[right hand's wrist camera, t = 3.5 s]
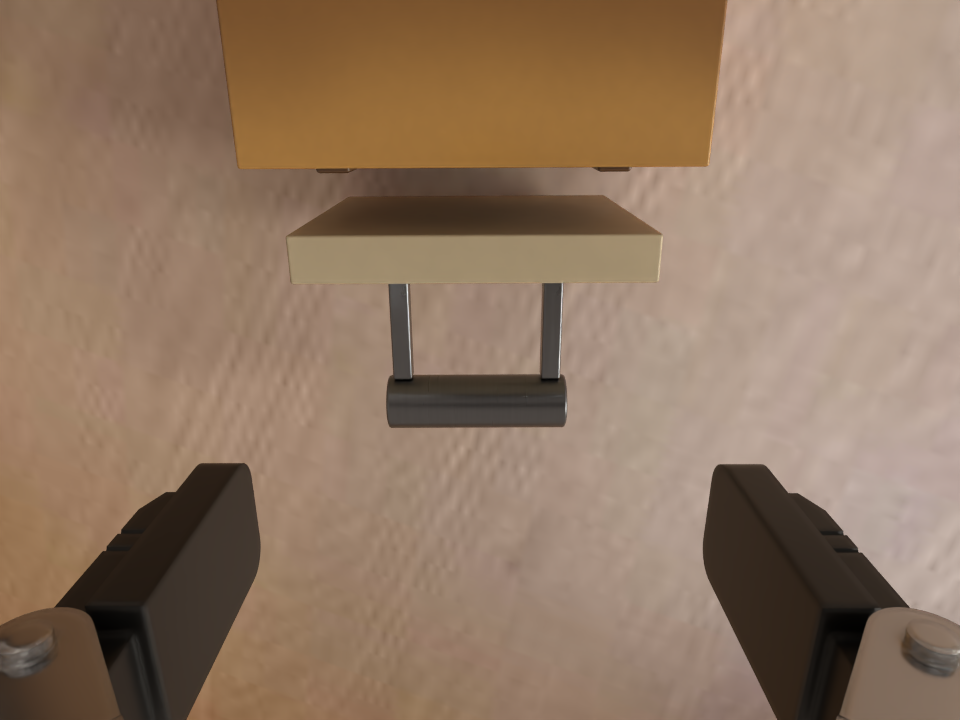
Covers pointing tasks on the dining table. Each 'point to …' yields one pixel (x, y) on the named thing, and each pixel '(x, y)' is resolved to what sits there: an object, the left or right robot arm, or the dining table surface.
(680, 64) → the cabinet
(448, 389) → the drawer
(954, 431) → the dining table surface
